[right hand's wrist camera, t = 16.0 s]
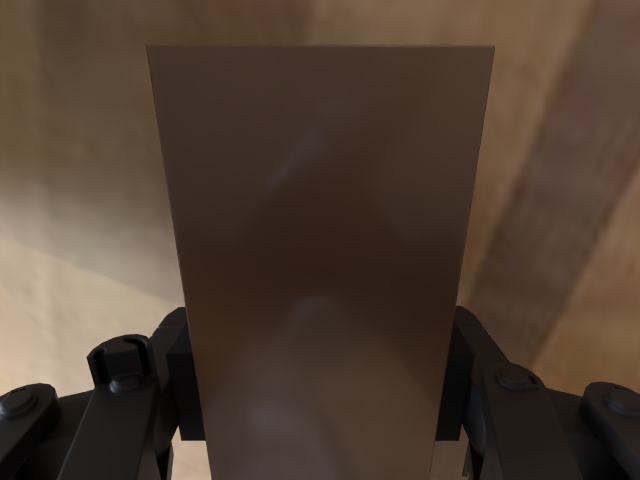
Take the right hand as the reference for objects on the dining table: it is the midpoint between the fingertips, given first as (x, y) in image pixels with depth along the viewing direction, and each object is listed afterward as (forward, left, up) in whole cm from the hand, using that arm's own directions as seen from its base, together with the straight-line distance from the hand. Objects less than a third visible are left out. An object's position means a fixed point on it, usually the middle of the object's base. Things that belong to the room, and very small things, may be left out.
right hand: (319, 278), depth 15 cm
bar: (+14, -24, -1) cm, 28 cm away
